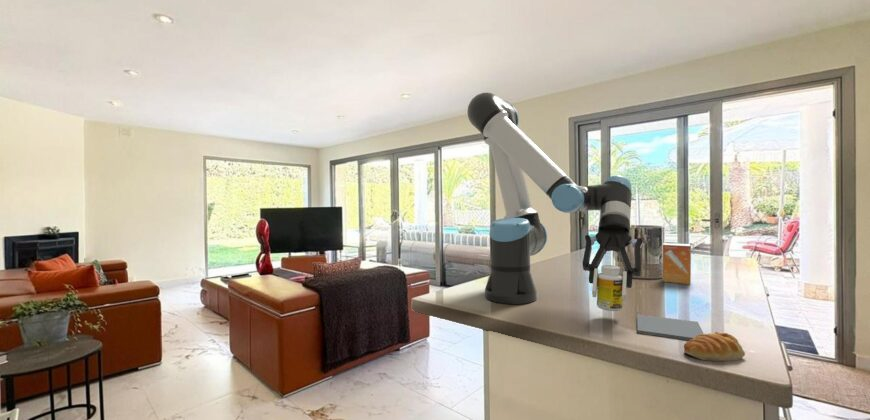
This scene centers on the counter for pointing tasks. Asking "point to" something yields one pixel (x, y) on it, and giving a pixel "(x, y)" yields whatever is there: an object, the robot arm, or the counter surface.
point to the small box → (677, 263)
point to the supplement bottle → (609, 288)
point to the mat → (668, 327)
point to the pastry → (714, 347)
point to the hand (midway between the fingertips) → (608, 296)
